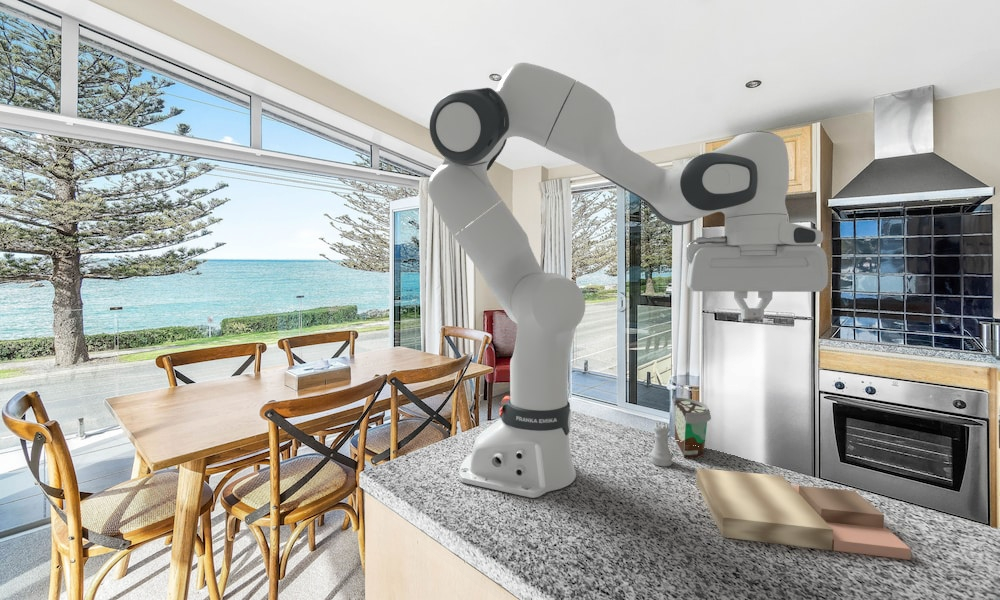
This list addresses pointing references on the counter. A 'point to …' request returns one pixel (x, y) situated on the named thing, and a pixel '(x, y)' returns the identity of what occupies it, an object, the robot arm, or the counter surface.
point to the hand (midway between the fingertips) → (752, 319)
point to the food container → (690, 426)
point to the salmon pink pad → (867, 540)
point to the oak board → (762, 509)
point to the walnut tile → (842, 506)
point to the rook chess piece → (661, 446)
